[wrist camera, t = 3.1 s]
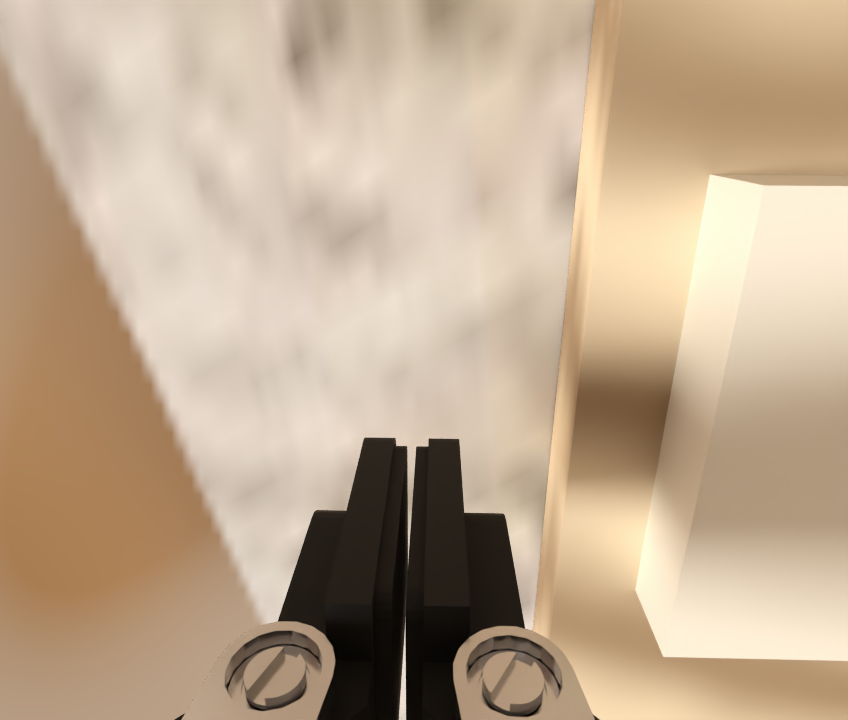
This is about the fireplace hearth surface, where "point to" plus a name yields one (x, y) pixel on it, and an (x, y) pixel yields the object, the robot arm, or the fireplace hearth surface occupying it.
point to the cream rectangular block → (757, 432)
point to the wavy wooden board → (668, 321)
